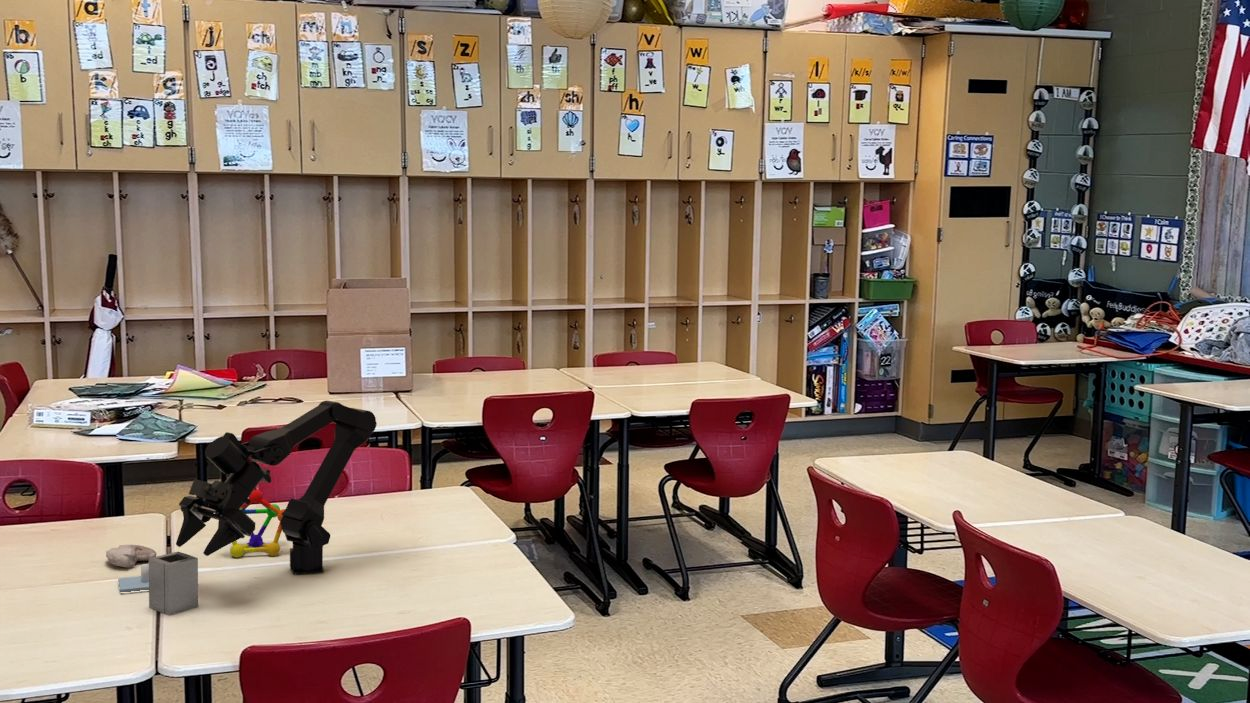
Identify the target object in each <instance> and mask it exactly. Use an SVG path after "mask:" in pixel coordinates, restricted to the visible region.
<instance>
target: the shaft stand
mask: <svg viewBox="0 0 1250 703" xmlns="http://www.w3.org/2000/svg"><path fill="white" fill-rule="evenodd" d="M117 580H118V581H117V583H118V582H119V584H118V588H119V587H120V589H119V593H120V592H131V591H140V590H149V563H143V564H140V576H139V575H138V576H129V577H118V578H117Z"/></svg>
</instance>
